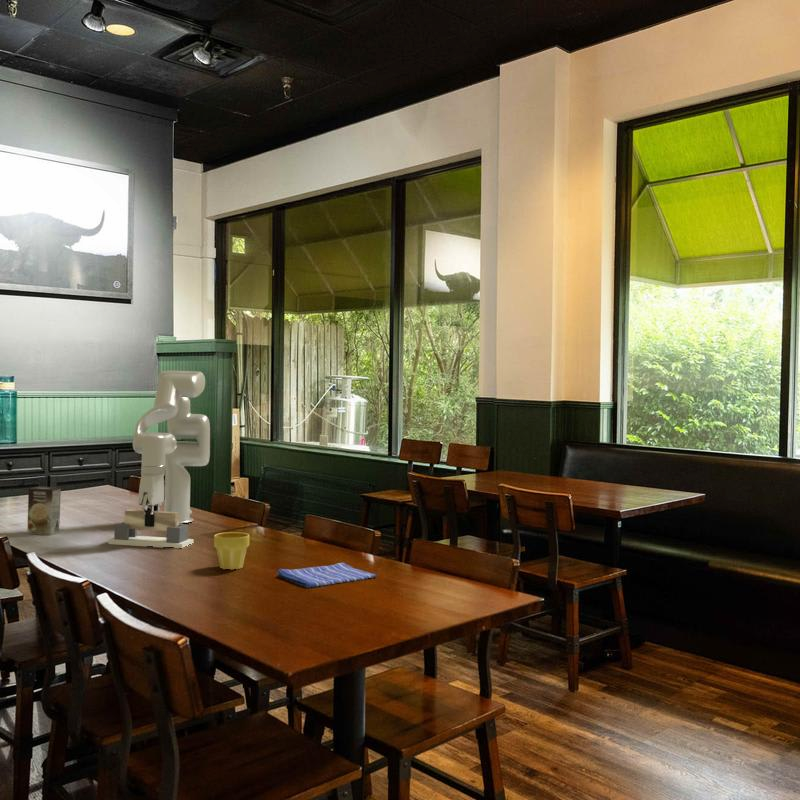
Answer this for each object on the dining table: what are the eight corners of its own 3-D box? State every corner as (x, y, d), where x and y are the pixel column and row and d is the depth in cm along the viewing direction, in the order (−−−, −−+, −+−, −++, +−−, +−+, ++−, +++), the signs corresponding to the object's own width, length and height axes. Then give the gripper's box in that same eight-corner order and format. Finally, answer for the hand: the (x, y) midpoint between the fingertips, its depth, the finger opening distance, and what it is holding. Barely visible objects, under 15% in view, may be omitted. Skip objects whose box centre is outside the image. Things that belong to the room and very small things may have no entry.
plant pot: (211, 564, 243) (212, 532, 242) (246, 563, 246) (247, 531, 246) (214, 572, 233) (215, 538, 233) (250, 570, 236) (251, 537, 236)
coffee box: (26, 534, 282) (27, 488, 282) (36, 530, 288) (37, 486, 288) (51, 535, 281) (52, 489, 281) (60, 532, 287) (61, 487, 287)
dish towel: (274, 578, 230) (274, 568, 230) (342, 568, 245) (343, 559, 245) (306, 590, 217) (307, 580, 216) (377, 580, 231) (377, 570, 231)
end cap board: (121, 539, 277) (122, 520, 277) (193, 543, 273) (193, 524, 273) (108, 544, 268) (108, 524, 268) (182, 548, 264) (182, 528, 264)
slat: (128, 527, 273) (128, 509, 273) (178, 530, 270) (178, 512, 270) (124, 528, 271) (125, 510, 271) (175, 531, 268) (175, 513, 268)
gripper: (153, 468, 279) (152, 521, 279) (130, 472, 263) (129, 529, 263) (174, 469, 278) (172, 522, 278) (152, 473, 262) (151, 530, 262)
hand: (151, 525), depth 271 cm, fingers closed on slat, 2 cm apart
